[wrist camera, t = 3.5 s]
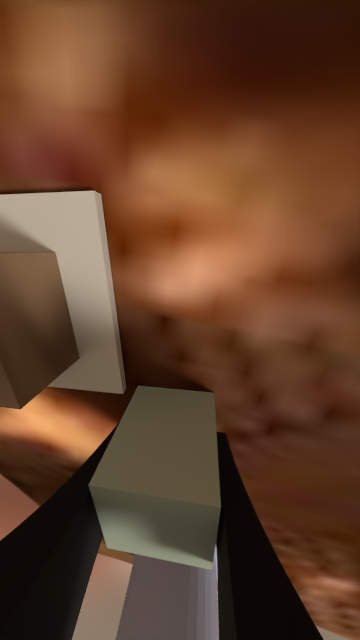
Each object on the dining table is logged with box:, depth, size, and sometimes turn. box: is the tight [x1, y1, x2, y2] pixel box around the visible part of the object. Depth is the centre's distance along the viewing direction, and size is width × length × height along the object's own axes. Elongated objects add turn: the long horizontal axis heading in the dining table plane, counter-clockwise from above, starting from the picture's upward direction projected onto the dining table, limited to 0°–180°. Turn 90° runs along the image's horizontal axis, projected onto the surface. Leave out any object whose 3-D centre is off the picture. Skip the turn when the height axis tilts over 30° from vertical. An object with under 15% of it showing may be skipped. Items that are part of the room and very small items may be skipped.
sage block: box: [89, 386, 221, 570], centre depth 9 cm, size 4×4×5 cm
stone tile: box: [0, 191, 126, 394], centre depth 10 cm, size 10×10×1 cm
